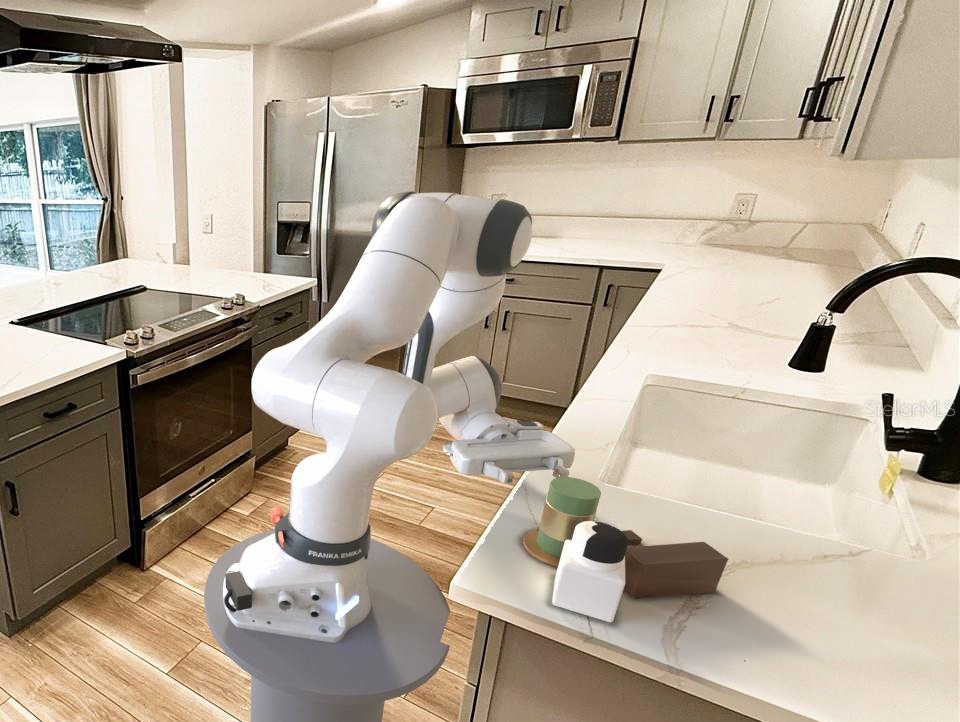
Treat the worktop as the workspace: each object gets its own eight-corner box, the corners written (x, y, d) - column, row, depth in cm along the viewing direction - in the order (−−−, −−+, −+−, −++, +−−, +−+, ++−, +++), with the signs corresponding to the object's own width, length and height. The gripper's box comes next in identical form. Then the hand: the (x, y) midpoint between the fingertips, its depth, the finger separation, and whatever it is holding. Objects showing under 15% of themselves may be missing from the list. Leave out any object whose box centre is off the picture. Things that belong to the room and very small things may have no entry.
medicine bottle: (612, 593, 88) (634, 524, 83) (612, 624, 83) (636, 552, 78) (555, 576, 92) (573, 510, 87) (551, 605, 87) (570, 536, 82)
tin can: (535, 564, 99) (514, 489, 103) (575, 561, 99) (552, 487, 103) (584, 554, 87) (558, 470, 92) (629, 550, 87) (601, 467, 92)
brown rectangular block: (569, 540, 100) (577, 509, 97) (641, 535, 100) (651, 504, 98) (633, 598, 87) (644, 565, 85) (715, 592, 87) (728, 558, 85)
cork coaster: (541, 569, 94) (542, 566, 93) (512, 531, 103) (512, 528, 102) (610, 570, 93) (611, 567, 92) (574, 531, 102) (575, 528, 102)
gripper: (439, 429, 113) (478, 465, 101) (547, 421, 114) (600, 457, 101) (435, 458, 116) (472, 498, 103) (541, 451, 116) (591, 489, 104)
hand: (536, 477), depth 102 cm, fingers open, 8 cm apart
